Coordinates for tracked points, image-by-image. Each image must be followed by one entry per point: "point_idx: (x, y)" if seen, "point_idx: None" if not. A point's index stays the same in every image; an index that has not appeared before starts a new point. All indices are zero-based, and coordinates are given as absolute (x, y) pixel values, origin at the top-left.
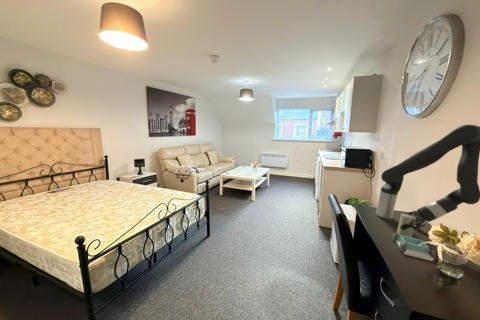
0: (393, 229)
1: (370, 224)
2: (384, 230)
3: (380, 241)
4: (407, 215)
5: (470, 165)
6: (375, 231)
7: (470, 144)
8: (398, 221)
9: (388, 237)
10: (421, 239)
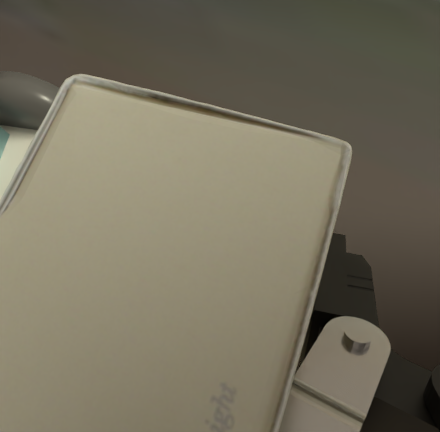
0: (375, 286)
1: (403, 32)
2: None
3: (26, 4)
4: (132, 278)
5: None
6: (220, 27)
7: None
8: (344, 255)
9: None
10: None
